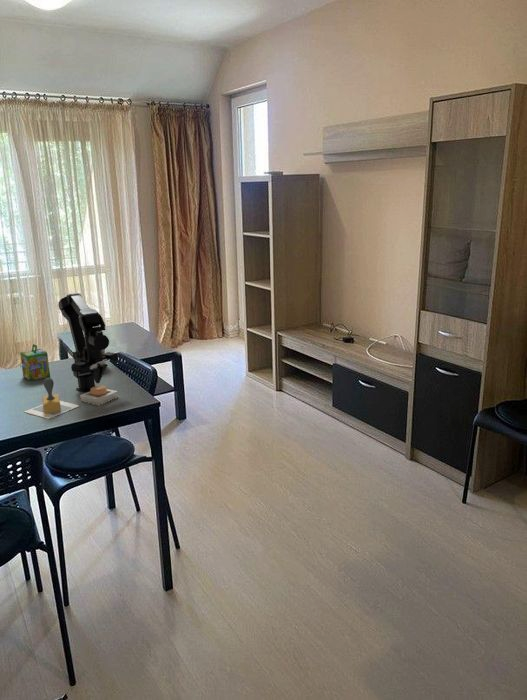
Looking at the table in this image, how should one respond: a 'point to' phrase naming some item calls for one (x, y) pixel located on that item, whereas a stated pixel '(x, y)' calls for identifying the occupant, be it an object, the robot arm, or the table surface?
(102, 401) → the button housing
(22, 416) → the table surface
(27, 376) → the chalk box
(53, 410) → the rubber stamp
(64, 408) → the paper sheet
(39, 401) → the table surface
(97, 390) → the button
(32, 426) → the table surface
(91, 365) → the robot arm
